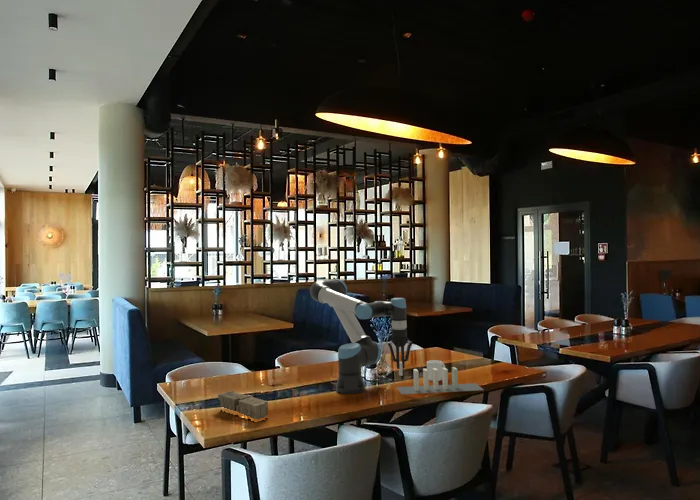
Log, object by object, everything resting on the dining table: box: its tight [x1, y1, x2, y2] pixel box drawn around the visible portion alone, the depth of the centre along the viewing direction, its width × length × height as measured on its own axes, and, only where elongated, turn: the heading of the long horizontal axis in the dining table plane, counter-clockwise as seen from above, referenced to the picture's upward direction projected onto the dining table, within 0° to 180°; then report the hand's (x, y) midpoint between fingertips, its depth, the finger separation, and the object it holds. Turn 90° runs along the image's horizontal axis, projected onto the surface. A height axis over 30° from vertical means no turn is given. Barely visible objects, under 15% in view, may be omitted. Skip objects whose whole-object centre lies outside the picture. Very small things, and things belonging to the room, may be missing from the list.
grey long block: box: [217, 390, 269, 419], centre depth 241 cm, size 8×8×29 cm
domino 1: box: [413, 368, 420, 391], centre depth 272 cm, size 2×5×10 cm, turn 5°
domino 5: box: [451, 366, 459, 389], centre depth 274 cm, size 2×5×10 cm, turn 5°
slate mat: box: [396, 382, 485, 395], centre depth 273 cm, size 42×14×1 cm, turn 95°
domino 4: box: [441, 367, 449, 390], centre depth 273 cm, size 2×5×10 cm, turn 4°
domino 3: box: [432, 368, 439, 390], centre depth 273 cm, size 2×5×10 cm, turn 5°
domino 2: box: [422, 368, 430, 391], centre depth 272 cm, size 2×5×10 cm, turn 5°
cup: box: [426, 359, 446, 382], centre depth 294 cm, size 8×12×10 cm
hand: (400, 375), depth 271 cm, fingers closed
